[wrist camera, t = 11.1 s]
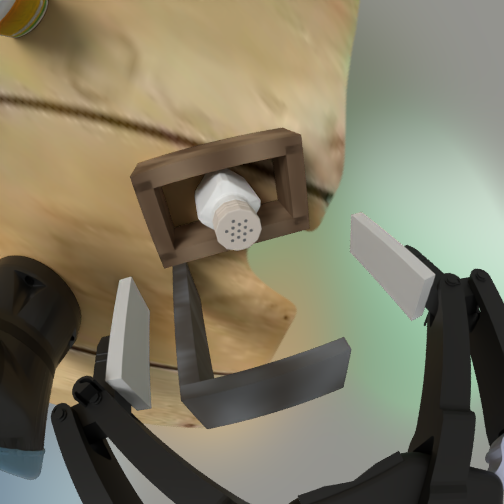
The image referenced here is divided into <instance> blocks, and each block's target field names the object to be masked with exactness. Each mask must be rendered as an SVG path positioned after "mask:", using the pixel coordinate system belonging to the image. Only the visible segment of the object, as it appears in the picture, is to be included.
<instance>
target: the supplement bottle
mask: <svg viewBox="0 0 504 504" xmlns="http://www.w3.org/2000/svg"><path fill="white" fill-rule="evenodd" d="M47 5H48V0H0V35H1V36H7V37H13V38H17V37H21V36H23V35H25V34H27V33H28V32H30V31H31V30H32V29H34V28H35V27H36V26H37V24H38V23H39V22H40V21H41V19H42V18H43V16H44V14H45V12H46V9H47Z"/></svg>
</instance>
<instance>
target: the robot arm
mask: <svg viewBox="0 0 504 504" xmlns="http://www.w3.org/2000/svg"><path fill="white" fill-rule="evenodd" d="M350 253H351V254H352V255H353V256H354V257H355V258H356V259H357V260H358V261H359V262H360V263H361V264H362V265H363V266H364V268H365V269H366V270H367V271H368V272H369V273H370V274H371V275H372V276H373V277H374V278H375V280H376V281H377V282H378V283H379V284H380V285H381V286H382V287H383V288H384V290H385V291H386V292H387V293H388V294H389V295H390V296H391V298H392V299H393V300H394V301H395V302H396V303H397V304H398V306H399V307H400V308H401V309H402V310H403V311H404V313H405V314H406V315H407V316H408V317H409V318H410V320H411V321H412V320H414V319H416V318H418V317H420V316H422V314H423V311H424V308H425V307H426V308H427V309H428V311H429V312H428V315H427V317H426V320H425V322H424V326H426V323H427V344H426V346H427V347H426V360H425V372H424V382H423V390H422V397H421V404H420V410H419V417H418V422H417V427H416V431H415V434H414V436H413V438H412V440H411V443H410V446H409V449H408V452H406V453H401V454H400V452H399V451H398V452H396V453H394V454H392V455H391V456H389V457H387V458H385V459H383V460H381V461H380V462H378V463H376V464H375V465H373V466H372V467H371V468H370V469H368V470H367V471H366V472H364V473H363V474H362V475H360V476H359V477H358V478H357V479H355V480H354V481H352V482H347V483H342V484H337V485H331V486H324V487H322V488H319V489H316V490H313V491H310V492H308V493H305V494H302V495H298V498H297V499H295V500H293V501H292V502H290V503H289V504H503V491H504V303H503V301H502V299H501V297H500V295H499V293H498V291H497V289H496V287H495V285H494V283H493V281H492V279H491V277H490V276H489V274H488V273H487V272H485V271H484V270H481V269H474V270H473V271H471V274H470V277H468V278H462V279H460V278H459V277H458V276H456V275H454V274H451V273H445V274H444V273H443V272H441V271H440V270H439V269H438V268H437V267H436V266H434V264H433V263H431V262H430V261H429V260H427V258H426V257H424V256H423V255H422V254H421V253H420V252H419V251H418V250H416V249H415V248H413V247H411V246H408V245H406V246H403V245H401V243H399V242H398V241H397V240H396V239H395V238H393V237H392V236H391V235H390V234H389V233H387V232H386V231H385V230H384V229H382V228H381V227H380V226H379V225H378V224H376V223H375V222H374V221H372V220H371V219H370V218H369V217H367V216H366V215H365V214H363V213H362V212H359V213H356V214H352V215H351V241H350ZM479 308H480V310H479ZM80 323H81V313H80V308H79V305H78V303H77V300H76V298H75V296H74V295H73V293H72V291H71V290H70V288H69V287H68V286H67V285H66V283H65V282H64V281H63V280H62V279H61V278H60V277H59V276H58V275H57V274H56V273H54V272H53V271H52V270H51V269H49V268H48V267H46V266H45V265H43V264H41V263H40V262H38V261H35V260H33V259H30V258H27V257H23V256H7V257H4V258H2V259H0V470H2V471H4V472H7V473H10V474H12V475H15V476H18V477H21V478H24V479H29V480H33V479H36V478H37V477H39V475H40V473H41V468H42V462H43V456H44V453H45V449H44V438H45V429H46V420H47V413H48V407H49V400H50V395H51V389H52V384H53V379H54V374H55V370H56V368H57V366H58V365H59V364H60V362H61V361H62V359H63V358H64V357H65V355H66V354H67V352H68V351H69V349H70V348H71V347H72V345H73V344H74V342H75V341H76V338H77V335H78V331H79V328H80ZM149 325H150V310H149V309H148V307H147V305H146V303H145V301H144V299H143V298H142V296H141V294H140V292H139V290H138V288H137V286H136V284H135V282H134V280H133V278H132V276H131V277H128V278H124V279H121V280H119V285H118V291H117V296H116V301H115V307H114V313H113V320H112V326H111V333H110V336H106V337H102V338H101V340H100V342H99V344H98V346H97V352H96V355H97V356H96V359H95V362H96V363H95V366H94V375H93V378H92V377H91V376H84V377H81V378H80V379H78V380H77V381H76V383H75V384H74V386H73V389H72V395H73V397H74V399H75V400H76V401H77V402H79V404H77V405H74V406H72V407H70V406H69V405H67V404H66V403H60V404H58V405H57V406H55V407H54V409H53V411H52V414H51V421H52V425H53V428H54V432H55V435H56V438H57V441H58V444H59V447H60V450H61V453H62V456H63V459H64V461H65V464H66V466H67V469H68V471H69V474H70V476H71V479H72V481H73V483H74V486H75V488H76V490H77V492H78V494H79V497H80V499H81V501H82V503H83V504H143V502H142V501H141V499H140V498H139V496H138V495H137V493H136V492H135V490H134V488H133V487H132V485H131V484H130V482H129V480H128V479H127V477H126V475H125V474H124V472H123V470H122V468H121V467H120V465H119V463H118V461H117V459H116V458H115V456H114V454H113V452H112V450H111V448H110V446H109V444H108V442H107V440H106V438H107V437H109V439H110V440H111V441H112V442H113V443H114V444H115V445H116V447H117V448H118V449H119V450H120V451H121V452H122V453H123V454H124V456H125V457H126V458H127V459H128V460H129V461H130V462H131V463H132V464H133V465H134V466H135V467H136V468H137V469H138V470H139V471H140V472H141V473H142V474H143V475H144V476H145V477H146V478H147V479H148V480H149V481H150V482H151V483H152V484H154V485H155V486H156V487H157V488H158V489H159V490H160V491H161V492H162V493H164V494H165V495H166V496H167V497H168V498H169V499H171V500H172V501H173V502H174V503H176V504H250V503H248V502H245V501H244V500H242V499H241V498H239V497H237V496H235V495H234V494H232V493H231V492H229V491H228V490H226V489H224V488H223V487H221V486H220V485H218V484H217V483H215V482H214V481H213V480H211V479H210V478H208V477H207V476H205V475H204V474H203V473H201V472H200V471H198V470H197V469H196V468H194V467H193V466H192V465H191V464H189V463H188V462H187V461H185V460H184V459H183V458H182V457H180V456H179V455H178V454H177V453H175V452H174V451H173V450H172V449H171V448H169V447H168V446H167V445H166V444H165V443H163V442H162V441H161V440H160V439H159V438H158V437H157V436H156V435H154V434H153V433H152V432H151V431H150V430H149V429H148V428H147V427H146V426H145V425H144V424H143V423H142V422H141V421H140V420H138V419H137V418H136V417H135V416H134V415H133V414H132V413H131V406H132V407H134V408H135V409H136V410H144V409H150V408H151V392H150V362H149ZM470 355H471V358H472V362H473V366H474V370H475V374H476V379H477V383H478V387H479V393H480V398H481V403H482V408H483V415H484V422H485V428H486V434H487V438H488V441H489V445H490V449H489V452H488V453H487V454H486V457H485V460H486V462H487V463H489V468H488V471H486V470H482V469H478V468H474V467H470V462H471V456H472V449H473V441H474V433H475V421H476V416H475V413H474V412H472V411H471V410H470V395H471V358H470Z"/></svg>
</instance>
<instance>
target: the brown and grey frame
mask: <svg viewBox="0 0 504 504" xmlns="http://www.w3.org/2000/svg"><path fill="white" fill-rule="evenodd" d="M269 158H272V162H273V169H274V176H275V183H276V190H277V197H278V200H277V201H273V202H269V203H265V204H261V205H260V208H259V210H258V212H257V213H256V214H257V215H258V217H259V218H260V223H261V228H262V230H261V233H260V235H259V238H258V240H257V241H256V242H255V243H258V242H262V241H265V240H269V239H272V238H276V237H280V236H284V235H287V234H291V233H295V232H298V231H302V230H306V229H309V214H308V201H307V188H306V177H305V167H304V157H303V147H302V138H301V135H300V134H297V133H295V132H292V131H290V130H287V129H285V128H278V129H272V130H267V131H261V132H256V133H251V134H246V135H241V136H236V137H232V138H227V139H223V140H219V141H214V142H210V143H206V144H202V145H198V146H195V147H191V148H187V149H183V150H180V151H176V152H173V153H169V154H166V155H163V156H159V157H156V158H153V159H150V160H147V161H143V162H140V163H138V164H137V166H136V167H135V169H134V171H133V173H132V174H131V176H130V178H131V181H132V184H133V187H134V190H135V193H136V196H137V199H138V202H139V204H140V207H141V210H142V213H143V215H144V218H145V221H146V224H147V226H148V229H149V231H150V234H151V237H152V239H153V242H154V244H155V247H156V249H157V252H158V254H159V257H160V259H161V262H162V264H163V266H164V268H168V267H171V266H173V301H174V323H175V339H176V353H177V365H178V376H179V386H180V395H181V401H182V402H183V403H184V404H185V406H186V407H187V408H188V409H189V410H190V411H191V412H192V413H193V415H194V416H195V417H196V418H197V419H198V420H199V421H200V422H201V423H202V424H203V425H204V426H205V428H206V429H211V428H215V427H220V426H225V425H229V424H233V423H237V422H241V421H245V420H249V419H253V418H257V417H260V416H264V415H267V414H271V413H274V412H277V411H280V410H283V409H286V408H290V407H293V406H296V405H299V404H301V403H304V402H307V401H310V400H313V399H315V398H318V397H321V396H323V395H326V394H329V393H331V392H334V391H336V390H338V389H341V388H343V387H344V382H345V378H346V373H347V368H348V363H349V358H350V354H351V348H350V346H349V345H348V343H347V341H346V340H345V338H344V337H342V338H340V339H338V340H335V341H332V342H330V343H327V344H324V345H322V346H319V347H316V348H313V349H311V350H308V351H305V352H302V353H299V354H296V355H293V356H290V357H287V358H284V359H281V360H278V361H275V362H271V363H268V364H265V365H261V366H258V367H255V368H251V369H248V370H244V371H240V372H237V373H233V374H229V375H225V376H221V377H217V378H214V375H213V370H212V365H211V359H210V354H209V348H208V343H207V337H206V331H205V325H204V319H203V313H202V306H201V300H200V297H199V294H198V291H197V289H196V286H195V284H194V281H193V278H192V276H191V273H190V270H189V267H188V265H187V262H189V261H193V260H196V259H200V258H204V257H207V256H211V255H214V254H218V253H222V252H225V251H229V250H230V249H226V248H225V247H224V246H222V245H221V244H220V243H219V242H218V240H217V236H216V233H215V230H213V229H211V228H209V227H208V226H206V225H204V224H202V223H201V221H196V222H193V223H189V224H186V225H182V226H179V227H175V228H174V225H173V222H172V219H171V216H170V213H169V209H168V206H167V203H166V200H165V197H164V194H163V191H162V187H161V186H163V185H166V184H169V183H173V182H176V181H180V180H183V179H187V178H190V177H194V176H198V175H202V174H205V173H209V172H213V171H217V170H221V169H225V168H229V167H233V166H237V165H242V164H246V163H251V162H255V161H260V160H264V159H269Z"/></svg>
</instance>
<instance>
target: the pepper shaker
mask: <svg viewBox="0 0 504 504" xmlns="http://www.w3.org/2000/svg"><path fill="white" fill-rule="evenodd" d="M194 196H195V202H196V209H197V215H198V219H199V220H200V221H201V223H202V224H204V225H206V226H208V227H209V228H211V229H213V230H215V233H216V236H217V240H218V242H219V243H220V244H221V245H222V246H224V247H225V248H226V249H230V250H236V251H239V250H243V249H246V248H249V247H250V246H251V245H252V244H254V243H255V242H256V241H257V240H258V238H259V235H260V233H261V230H262V228H261V223H260V218H259V217H258V215H257V214H256V213H257V212H258V210H259V208H260V203H261V200H260V199H259V197H258V196H257V195H256V193H255V192H254V191H253V189H252V188H251V186H250V185H249V184H248V182H247V181H246V180H245V178H244V177H242V176H240V175H238V174H237V173H235V172H233V171H231V170H229V169H228V168H225V169H221V170H217V171H213V172H209V173H206V174H205V176H204V177H203V179H202V180H201V182H200V184H199V185H198V187H197V189H196V191H195V195H194Z"/></svg>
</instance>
